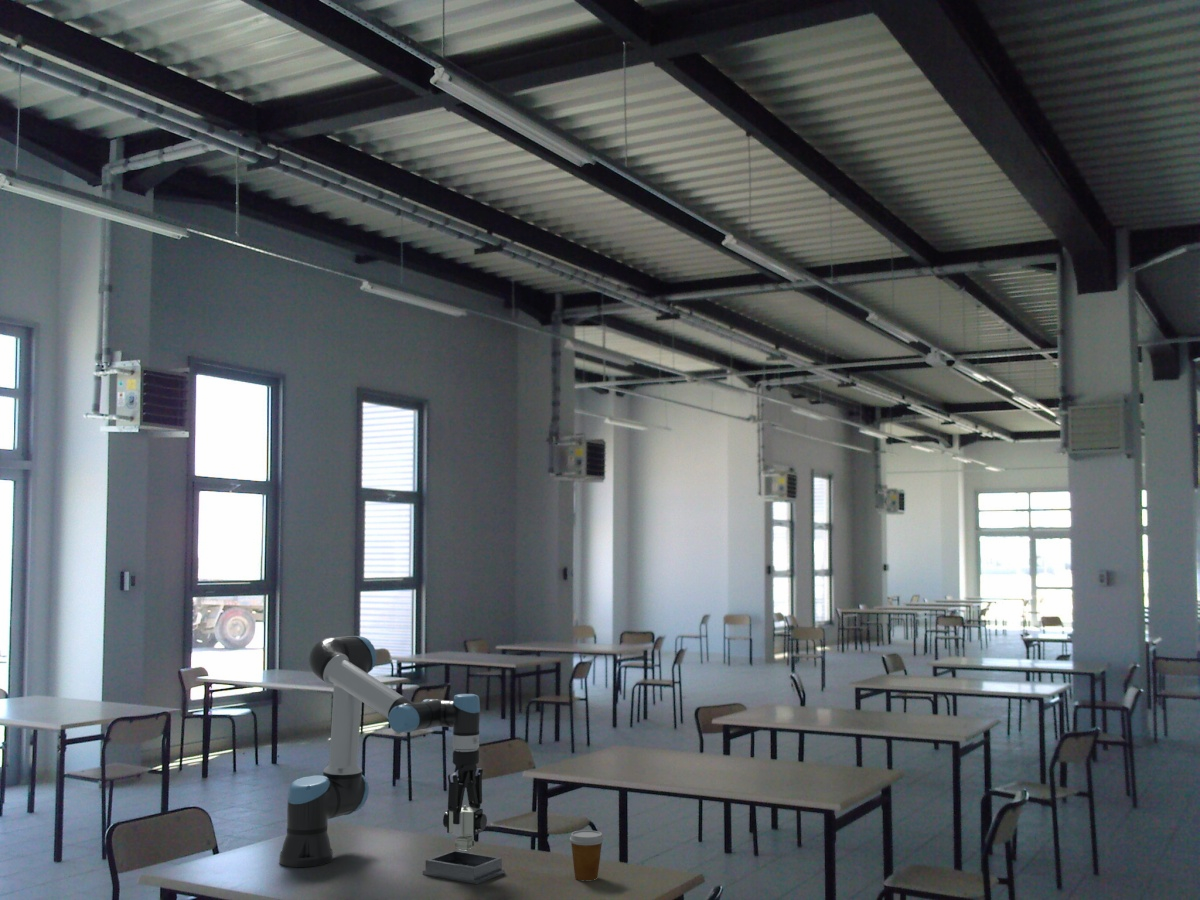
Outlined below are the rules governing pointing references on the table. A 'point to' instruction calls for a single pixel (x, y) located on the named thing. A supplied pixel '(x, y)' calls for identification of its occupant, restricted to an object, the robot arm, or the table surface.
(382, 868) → the table surface
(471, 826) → the pneumatic valve
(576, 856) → the disposable coffee cup
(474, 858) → the rectangular open-top bin
